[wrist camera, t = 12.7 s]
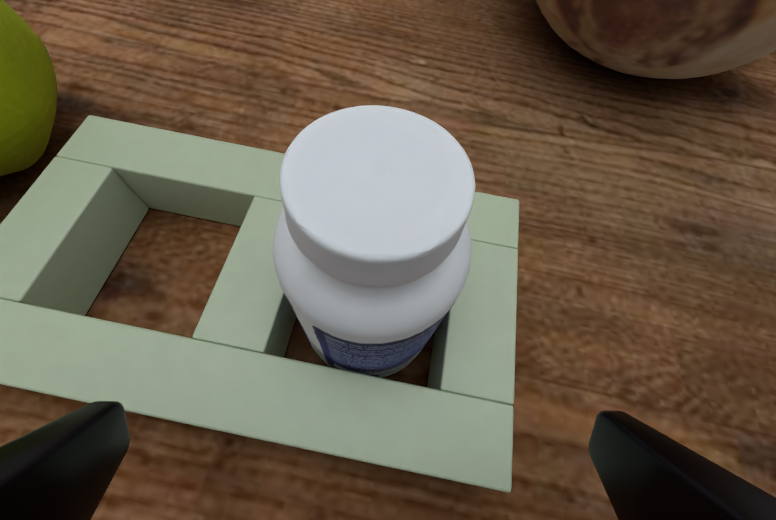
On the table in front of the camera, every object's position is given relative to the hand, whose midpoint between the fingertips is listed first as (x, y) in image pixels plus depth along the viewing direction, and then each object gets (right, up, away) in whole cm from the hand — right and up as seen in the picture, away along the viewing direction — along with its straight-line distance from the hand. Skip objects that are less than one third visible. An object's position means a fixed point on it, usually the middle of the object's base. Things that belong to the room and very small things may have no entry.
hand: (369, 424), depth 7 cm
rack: (-5, +2, +9) cm, 10 cm away
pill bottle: (-1, 0, +9) cm, 9 cm away
